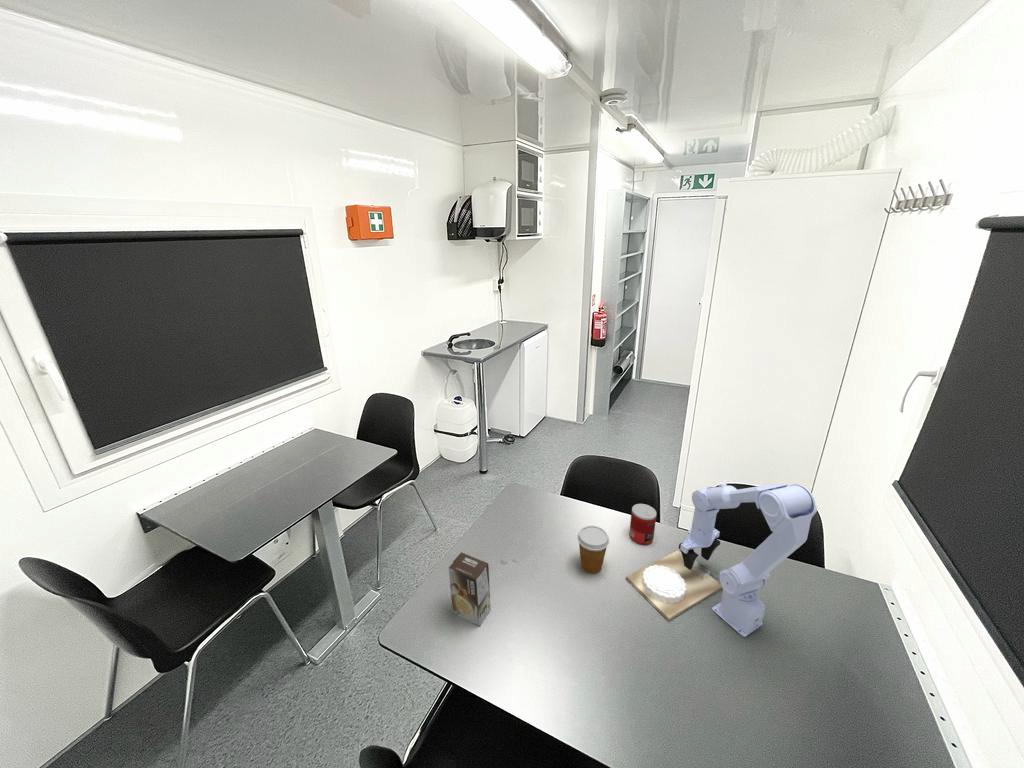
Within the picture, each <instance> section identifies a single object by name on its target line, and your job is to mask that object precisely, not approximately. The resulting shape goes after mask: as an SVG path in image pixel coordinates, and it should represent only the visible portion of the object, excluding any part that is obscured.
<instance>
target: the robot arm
mask: <svg viewBox="0 0 1024 768" xmlns="http://www.w3.org/2000/svg"><path fill="white" fill-rule="evenodd" d="M691 501H692V503H693V506H694V511H693V516H692V520H691V521H692V523H691V527H690V528H691V529H688V530H687V532H686V533H687V534H688V535H687V537H686V539H685V540H684V541H683V542H681V543H679V544H678V549H679V552H680V553H682V556H683V561H684V566H685V567H686V568H688V569H689V570H691V569H692V567H693V564H694V561H695V560H697V558H698V557H699V554H698V553H697V552H695V549H700V556H701V557H702V558H703V559H705V560H706V561H709V560H710V558H711V556H712V555H713V554H714V552H715V550H716V549H717V548H718V547H719V546H720V545H721V541H720V540H719V539H718V538H719V537H720V533H721V532H720V531H719V530H718V529H716V528H715V524H716V519H717V514H718V513H720V512H719V511H720V510H721V509H722V510H724V509H726V510H727V509H736V508H738V507H739V506H740V505H741V504H742V503H755V505H756V508H757V509H758V510H761V513H762V515H763V517H764V519H765V521H766V523H767V525H768V527H769V529H770V531H771V532H772V533H770V535H768V537H766V538H765V540H764V541H762V543H760V544H759V545H758V546H757V547H756V548H755V549H754V550H753V551H752V552H751V553H749V555H748V556H746V558H744V560H742V561H741V562H739V563H737V564H735V565H733V566H731V567H730V568H727V569H721V570H720V572H719V583H720V584H721V585H722V587H723V588H722V593H721V599H720V602H719V603H717V604H716V605H714V606H713V607H711V610H712V611H713V612H714V613H715V614H716V615H717V616H719V618H721V619H723V621H724V622H725V623H726V624H727V625H729V626H730V627H731V628H732V629H733V630H735V631H736V632H737V633H738V634H739V635H741V636H742V637H743V638H747V636H749V635H750V634H751V633H753V632H754V631H756V630H757V629H759V628H760V627H761V626H763V619H764V615H765V612H766V605H765V604H764V603H763V602H762V601H761V600H760V599H759V597H758V596H757V594H758V593H759V590H760V589H764V588H766V585H767V580H768V579H769V578H770V577H771V575H770V572H772V571H773V570H774V569H775V568H777V567H778V565H780V564H781V563H782V562H783V561H784V560H786V558H788V557H790V556H791V555H792V554H793V553H794V552H795V551H796V550H798V549H799V548H800V547H801V546H803V544H804V543H806V542H807V540H808V535H809V531H810V528H811V523H812V519H813V518H814V516H815V515H816V513H817V512H818V507H817V504H816V501H815V497H814V495H813V493H812V492H811V491H810V489H809V488H807V487H806V486H804V485H802V484H798V483H794V484H790V485H789V484H785V483H780V484H778V483H777V484H766V485H757V486H752V487H747V488H746V487H745V488H739V489H737V488H736V487H734V486H733V485H728V484H727V483H721V484H718V486H715V487H714V485H709V486H707V488H706V487H705V488H701V489H696V490H694V491H693V492H692V494H691Z"/></svg>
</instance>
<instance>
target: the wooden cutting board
mask: <svg viewBox="0 0 1024 768" xmlns="http://www.w3.org/2000/svg"><path fill="white" fill-rule="evenodd" d="M654 565H658V566H660V565H661V566H664V567H668V568H670V569H671V570H674V571H676V573H678V574H680V576H681V578H683V579H684V583H685V584H686V594H685V596H684V598H683V600H680V602H678V603H676V602H675V603H674V604H671V603H667V604H666V603H663V602H659V601H657V600H656V599H654V598H652V597H651V596H650V595H649V594H647V593H646V590H645V589H644V588H643V584H642V575H643V572H644V571H645V569H646V568H649V566H654ZM710 574H711V570H709V569H708V568H707V567H706V566H705V565H703V564H702V563H700V562H699V560H697V559H695V561H694V564H693V567H692V569H691V570H689V569H688V568H686V567H685V566H684V561H683V556H682V553H681V551H680V550H676V551H673V552H672V553H670V554H668V555H666V556H664V557H662V558H659V559H658V560H656V561H654V562H652V563H650V564H648V565H646V566H644V567H642V568H640V569H639V570H636V571H634V572H632V573H630V574H628V575H626V577H625V580H627V582H628V583H629V584H630V585H632V587H633V588H634V589H635V590H636V591H638V592H639V594H640V595H641V596H642V597H644V599H646V600H647V601H648V602H649V604H650V605H652V606H653V607H654V609H656V610H657V612H658V613H660V614H661V616H662V617H664V618H665V620H667V621H668V622H670V621H671V620H673V619H674V618H676V617H678V616H679V615H681V614H684V612H686V611H687V610H689V609H691V608H693V607H694V606H696V605H697V604H700V603H701V602H703V601H704V600H706V599H707V598H709V597H711V596H712V595H715V594H716V593H718V592H719V591H721V590H723V587H722V585H721V583H720V582H719V581H717V580H716V579H715V578H713V577H712V576H710Z"/></svg>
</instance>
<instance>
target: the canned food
mask: <svg viewBox="0 0 1024 768" xmlns="http://www.w3.org/2000/svg"><path fill="white" fill-rule="evenodd" d="M656 522H657V510H656V509H655V508H654V507H652V506H651V505H649V504H644V503H636V504H634V505H633V506H632V507H631V515H630V522H629V523H630V524H629V532H628V533H629V537H630V539H631V540H632V541H633V542H634V543H636V544H638V545H641V546H645V545H646V546H648V545H650V544H651V543H653V540H654V536H655V528H656Z"/></svg>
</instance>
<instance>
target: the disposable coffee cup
mask: <svg viewBox="0 0 1024 768" xmlns="http://www.w3.org/2000/svg"><path fill="white" fill-rule="evenodd" d="M576 537H577V538H576V539H577V542H578V543H579V544H578V545H579V546H578V547H579V559H580V567H581V569H582V570H583V571H584V572H585V573H587V574H589V575H595V574H598V573H600V572H601V570H602V568H603V564H604V559H605V556H606V552H607V548H608V546H609V544H610V538H609V536H608V533H607V531H606V530H604V529H603V528H602V527H601V526H596V525H586V526H583V527H582V528H581V529H579V532H578V533H577V536H576Z"/></svg>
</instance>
